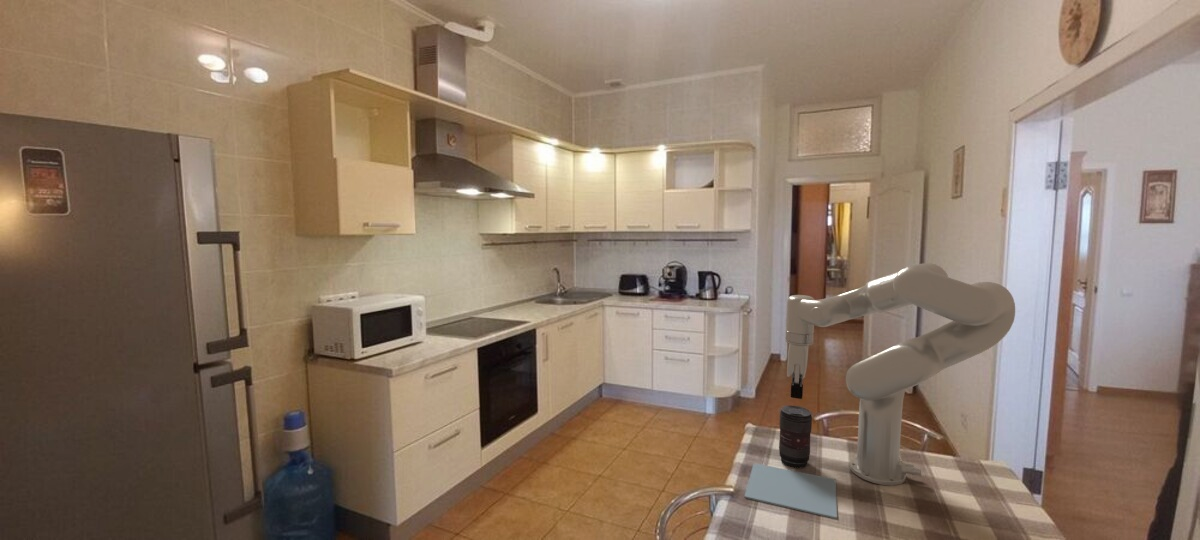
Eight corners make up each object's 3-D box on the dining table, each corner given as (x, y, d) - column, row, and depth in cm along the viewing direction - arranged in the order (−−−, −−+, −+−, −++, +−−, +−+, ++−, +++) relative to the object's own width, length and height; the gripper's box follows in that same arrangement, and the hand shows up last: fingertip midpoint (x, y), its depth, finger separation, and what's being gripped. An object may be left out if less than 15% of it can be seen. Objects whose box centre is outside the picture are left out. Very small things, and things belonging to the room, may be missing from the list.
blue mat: (835, 480, 120) (835, 479, 120) (836, 519, 105) (837, 517, 105) (753, 464, 129) (753, 463, 129) (744, 497, 113) (744, 496, 113)
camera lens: (813, 471, 125) (815, 417, 123) (781, 468, 126) (782, 415, 125) (806, 456, 133) (808, 405, 131) (776, 454, 134) (777, 403, 133)
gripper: (787, 330, 146) (784, 387, 148) (783, 342, 133) (781, 404, 135) (813, 332, 143) (810, 390, 145) (812, 345, 129) (809, 408, 132)
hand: (796, 397), depth 140 cm, fingers closed
